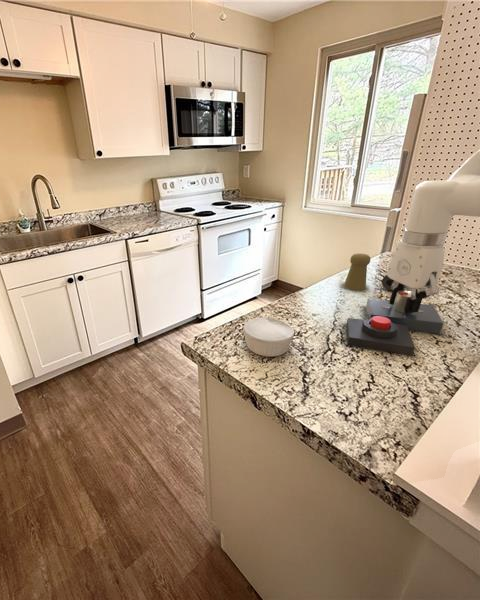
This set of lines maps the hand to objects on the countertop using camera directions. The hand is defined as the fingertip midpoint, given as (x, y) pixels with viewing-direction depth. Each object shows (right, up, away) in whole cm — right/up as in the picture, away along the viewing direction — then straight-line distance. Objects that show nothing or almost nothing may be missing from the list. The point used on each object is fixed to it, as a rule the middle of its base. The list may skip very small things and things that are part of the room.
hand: (403, 307), depth 79 cm
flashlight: (+16, +7, +20) cm, 27 cm away
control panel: (0, -3, +2) cm, 4 cm away
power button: (-11, -4, -6) cm, 13 cm away
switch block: (-11, -8, -5) cm, 14 cm away
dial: (0, -1, 0) cm, 1 cm away
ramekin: (-36, -10, -3) cm, 38 cm away
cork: (+2, +6, +21) cm, 22 cm away
